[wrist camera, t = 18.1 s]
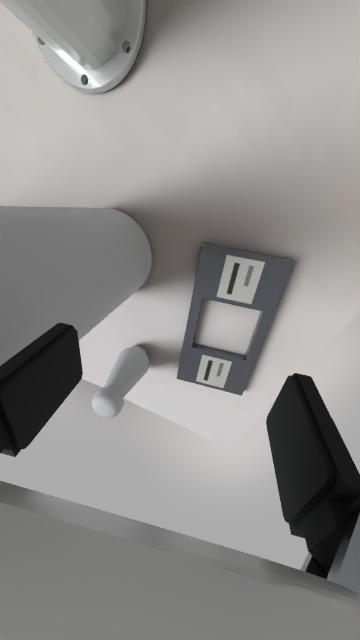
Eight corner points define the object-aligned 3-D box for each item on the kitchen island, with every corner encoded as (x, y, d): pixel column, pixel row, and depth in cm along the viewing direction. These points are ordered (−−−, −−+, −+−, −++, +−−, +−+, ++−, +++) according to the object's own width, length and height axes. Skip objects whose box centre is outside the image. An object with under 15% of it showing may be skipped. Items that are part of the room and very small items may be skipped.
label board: (203, 242, 30) (201, 244, 29) (292, 259, 29) (295, 261, 27) (178, 374, 41) (176, 379, 40) (241, 390, 40) (241, 396, 39)
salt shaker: (158, 354, 40) (130, 411, 29) (143, 372, 43) (112, 430, 32) (132, 336, 40) (93, 386, 28) (118, 355, 42) (77, 408, 31)
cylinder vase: (61, 229, 33) (-262, 266, 11) (129, 191, 29) (-174, 136, 7) (102, 302, 38) (-75, 430, 16) (166, 278, 33) (47, 409, 12)
